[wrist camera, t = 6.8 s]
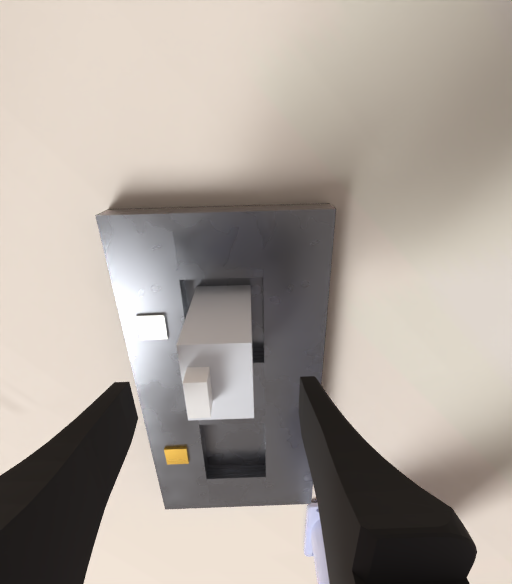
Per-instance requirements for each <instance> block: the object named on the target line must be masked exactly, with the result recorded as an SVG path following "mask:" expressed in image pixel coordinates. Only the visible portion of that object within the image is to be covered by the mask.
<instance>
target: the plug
mask: <svg viewBox="0 0 512 584" xmlns="http://www.w3.org/2000/svg"><path fill="white" fill-rule="evenodd" d="M176 346H177V352H178V359H179V365H180V372H181V378H182V384H183V391H184V397H185V404H186V410H187V416H188V420H216V419H244V418H254V391H253V348H252V317H251V286H250V285H229V286H197V287H196V290H195V293H194V296H193V298H192V301H191V304H190V307H189V310H188V313H187V316H186V319H185V322H184V325H183V327H182V330H181V333H180V336H179V339H178V342H177V345H176Z"/></svg>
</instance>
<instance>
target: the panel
mask: <svg viewBox="0 0 512 584" xmlns="http://www.w3.org/2000/svg"><path fill="white" fill-rule="evenodd" d="M335 215H336V209H335V208H334V207H333V206H332V205H330V204H329V203H328V204H292V205H255V206H218V207H181V208H144V209H107V210H105V211H103V212H101V213H99V214H98V215H96V220H97V224H98V228H99V232H100V237H101V241H102V245H103V249H104V253H105V258H106V262H107V266H108V270H109V274H110V279H111V283H112V287H113V291H114V296H115V300H116V304H117V308H118V312H119V317H120V321H121V325H122V329H123V333H124V338H125V342H126V346H127V350H128V354H129V359H130V363H131V367H132V371H133V375H134V380H135V384H136V388H137V392H138V397H139V401H140V405H141V409H142V413H143V418H144V422H145V426H146V430H147V434H148V439H149V443H150V447H151V451H152V455H153V460H154V464H155V468H156V472H157V476H158V481H159V485H160V489H161V493H162V498H163V502H164V506H165V509H185V508H211V507H238V506H264V505H290V504H311V499H312V487H313V480H312V476H311V472H310V468H309V464H308V460H307V456H306V452H305V448H304V444H303V440H302V435H301V428H300V421H299V413H298V411H299V390H300V377H304V376H315V377H316V378H317V379H318V381H319V383H320V384H321V381H322V369H323V357H324V345H325V333H326V321H327V310H328V298H329V286H330V274H331V262H332V250H333V239H334V227H335ZM229 285H250V286H251V317H252V348H253V391H254V418H244V419H216V420H188V416H187V410H186V404H185V397H184V391H183V384H182V378H181V372H180V365H179V359H178V352H177V346H176V345H177V342H178V339H179V336H180V333H181V330H182V327H183V325H184V322H185V319H186V316H187V313H188V310H189V307H190V304H191V301H192V298H193V296H194V293H195V290H196V287H197V286H229Z"/></svg>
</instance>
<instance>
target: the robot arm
mask: <svg viewBox="0 0 512 584" xmlns="http://www.w3.org/2000/svg"><path fill="white" fill-rule="evenodd" d="M298 413H299V421H300V428H301V435H302V440H303V444H304V448H305V452H306V456H307V460H308V464H309V468H310V472H311V476H312V480H313V484H314V488H315V493H316V498H317V503H311V504H308V506H307V515H306V528H305V541H304V554H305V555H306V556H314V562H315V568H316V575H317V581H318V584H469V582H468V580H467V576H468V574H469V571H470V569H471V567H472V565H473V563H474V561H475V558H476V554H477V550H476V546H475V544H474V542H473V540H472V538H471V537H470V535H469V533H468V531H467V530H466V528H465V527H464V525H463V523H462V522H461V521H460V519H459V518H458V516H457V515H456V513H455V512H454V510H453V509H452V508H451V507H449V506H448V505H446V504H445V503H443V502H442V501H440V500H439V499H437V498H436V497H434V496H433V495H431V494H430V493H428V492H427V491H425V490H424V489H422V488H421V487H419V486H418V485H417V484H415V483H414V482H413V481H411V480H410V479H409V478H407V477H406V476H405V475H404V474H402V473H401V472H400V471H399V470H397V469H396V468H395V467H394V466H393V465H391V464H390V463H389V462H388V461H387V460H385V459H384V458H383V457H382V456H381V455H380V454H379V453H378V452H377V451H376V450H375V449H374V448H373V447H371V446H370V445H369V444H368V443H367V442H366V441H365V440H364V438H363V437H362V436H361V435H360V434H359V433H358V432H357V431H356V430H355V429H354V428H353V426H352V425H351V424H350V423H349V422H348V421H347V420H346V418H345V417H344V416H343V415H342V413H341V412H340V411H339V410H338V408H337V407H336V406H335V404H334V403H333V402H332V400H331V399H330V398H329V396H328V395H327V393H326V392H325V390H324V389H323V387H322V386H321V384H320V383H319V381H318V379H317V378H316V377H315V376H304V377H300V390H299V411H298ZM137 420H138V416H137V412H136V408H135V404H134V400H133V396H132V392H131V387H130V383H129V382H115V383H114V384H112V385H111V386H110V387H109V388H108V389H107V390H106V391H105V392H104V393H103V394H102V395H101V396H100V397H99V398H97V399H96V400H95V401H94V402H93V403H92V404H91V405H90V406H89V407H88V408H87V409H86V410H85V411H83V412H82V413H81V414H80V415H79V416H78V417H77V418H76V419H75V420H74V421H72V422H71V423H70V424H69V425H68V426H66V427H65V428H64V429H63V430H62V431H61V432H59V433H58V434H57V435H56V436H55V437H54V438H52V439H51V440H50V441H49V442H47V443H46V444H45V445H43V446H42V447H41V448H40V449H38V450H37V451H35V452H34V453H33V454H31V455H30V456H29V457H27V458H26V459H25V460H23V461H22V462H20V463H19V464H17V465H16V466H14V467H13V468H11V469H10V470H8V471H7V472H5V473H4V474H2V475H1V476H0V584H83V583H84V579H85V575H86V571H87V567H88V564H89V560H90V557H91V553H92V550H93V546H94V543H95V539H96V536H97V532H98V529H99V526H100V523H101V519H102V516H103V513H104V510H105V507H106V504H107V501H108V499H109V496H110V494H111V491H112V489H113V486H114V484H115V481H116V479H117V477H118V474H119V472H120V469H121V467H122V464H123V462H124V460H125V457H126V455H127V452H128V450H129V447H130V445H131V442H132V439H133V435H134V432H135V428H136V424H137Z"/></svg>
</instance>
